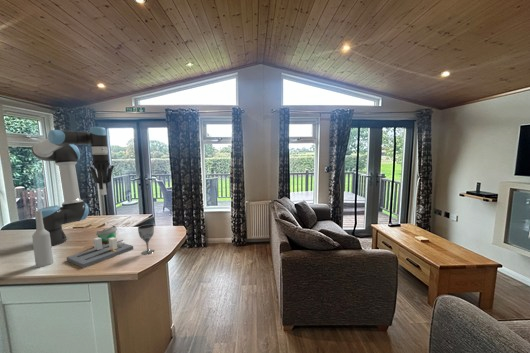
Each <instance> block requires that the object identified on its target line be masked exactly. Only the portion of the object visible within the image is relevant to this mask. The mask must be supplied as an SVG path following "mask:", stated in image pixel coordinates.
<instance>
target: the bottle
mask: <svg viewBox="0 0 530 353" xmlns="http://www.w3.org/2000/svg"><path fill="white" fill-rule="evenodd" d="M34 213H35V216H36V219H35V224H36V225H35V226H36V231H34V233H33V234H32V237H31V238H32V245H33V253H34V263H35V268H44V267H48V266H50V265H52V264H54V256H53V250H52V247H53V246H51V239H50V233H49V232H48V231H47V230H45V229H44V224H43V218H42V211H37V210H35V211H34Z"/></svg>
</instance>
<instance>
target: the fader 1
mask: <svg viewBox="0 0 530 353" xmlns="http://www.w3.org/2000/svg"><path fill="white" fill-rule="evenodd" d="M93 247H94V249H96V250H100V249H103V247H102V238H99V237H98V236H97V237H96V238H93Z"/></svg>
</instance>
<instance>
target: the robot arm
mask: <svg viewBox="0 0 530 353" xmlns="http://www.w3.org/2000/svg"><path fill="white" fill-rule="evenodd" d="M107 136H108V135H107V131H106V128H105V127H102V126H91V127H90V128H89V131H79V130H77V131H76V130H62V129H50V130H49V131H48V133H47V138H46V139H44V140H42V141H39V142H36V143H34V144H33V145H32V146H31V148H30V149H31V150H30V151H31V154H32V155H33V156H34V157H35V158H36V159H38V160H41V161H46V162H54V163H55V165H56V166H58V170H59V175H60V176H59V177H60V183H61V188H62V194H63V202H62V203H61V206H59V205H51V206H46V207H43V208H42V207H41V208H40V209H37V210H36V211H42V218H43V224H44V229H45V230H47V231H48V232H49V233H50V239H51V247H53V246H58V245H60V244H62V243H63V244H64V243H65V242H67V241H66V240H68V238H67V235H66V233H65V232H64V230H63V225H67V224H71V223H75V222H80V221H83V220H86V219H87V218H88V217H89V212H90V207H89V205H88V203H85V202H84V200H83V199H81V196H80V195H81V194H80V189H79V188H80V187H79V181H78V175H77V171H76V170H77V169H76V165H77V164H78V161H79V160H80V158H81V153H80V152H81V151H80V149H79V148H78V146H77V145H80V146H81V145H84V146H85V145H86V146H91V153H92V165H90V166H88V167H87V169H88V170H89V171H90V173H91V176H92V178H93V182H94V183H95V184H98V189H99V190H100V194H101V196H105V195H108V193H107V189H108V183H110V182H111V181H112V175H113V170H114V168H115V166H114V165H112V164H110V160H109V155H108V154H109V152H108V151H109V150H108V139H107V138H108V137H107ZM34 220H36V216H35V218H34ZM57 244H58V245H57Z"/></svg>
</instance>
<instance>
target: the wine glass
mask: <svg viewBox="0 0 530 353" xmlns="http://www.w3.org/2000/svg"><path fill="white" fill-rule="evenodd" d="M154 233H155V225H154V224H152V223H151V224H150V223H148V224H143V225H140V226H138V227H137V234H138V236H139V238H140V239H142V240H143V241H144V242H145V243H146V244H145V245H146V250H144V251H142V252H140V255H142V256H146V255H147V254H148V255H151V253H152V254H154V253H155V252H156V250H155V249H150V248H149V244H150V243H149V242H150V241H151V239H152V238H153V236H154ZM154 251H155V252H154ZM153 252H154V253H153Z"/></svg>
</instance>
